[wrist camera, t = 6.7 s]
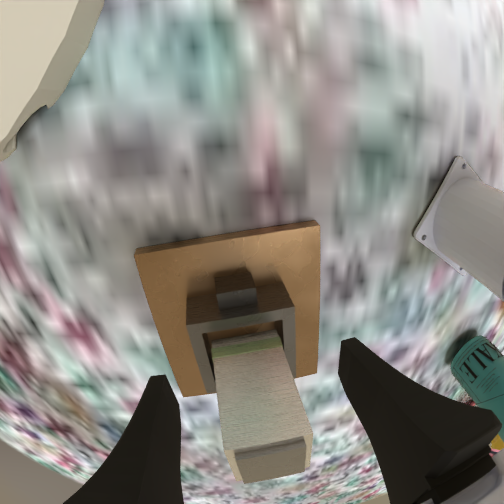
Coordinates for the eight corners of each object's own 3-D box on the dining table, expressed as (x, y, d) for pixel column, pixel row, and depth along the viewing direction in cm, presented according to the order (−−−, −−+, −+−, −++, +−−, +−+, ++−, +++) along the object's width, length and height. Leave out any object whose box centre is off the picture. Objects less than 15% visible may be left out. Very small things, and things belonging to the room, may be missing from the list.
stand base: (136, 248, 20) (124, 279, 16) (314, 220, 21) (338, 244, 17) (183, 388, 26) (183, 424, 22) (313, 365, 27) (327, 397, 24)
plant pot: (507, 399, 49) (527, 424, 40) (509, 406, 53) (526, 429, 45) (476, 428, 51) (494, 454, 43) (481, 432, 55) (497, 456, 47)
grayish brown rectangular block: (210, 339, 19) (223, 457, 11) (276, 328, 19) (316, 439, 12) (221, 382, 20) (236, 487, 13) (279, 371, 21) (312, 472, 13)
